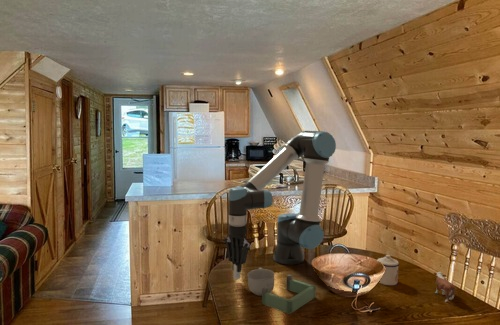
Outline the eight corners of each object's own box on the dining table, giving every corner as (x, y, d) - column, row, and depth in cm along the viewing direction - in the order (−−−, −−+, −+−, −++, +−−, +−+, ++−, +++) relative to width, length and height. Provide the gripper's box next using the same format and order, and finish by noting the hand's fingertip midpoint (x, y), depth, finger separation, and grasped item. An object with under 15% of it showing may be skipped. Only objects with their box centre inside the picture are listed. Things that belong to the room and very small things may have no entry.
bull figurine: (441, 289, 160) (442, 270, 159) (456, 304, 146) (458, 283, 146) (430, 288, 160) (431, 269, 159) (444, 303, 147) (446, 283, 146)
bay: (288, 288, 159) (288, 274, 158) (315, 297, 151) (315, 282, 150) (261, 303, 145) (262, 288, 144) (289, 314, 137) (290, 298, 137)
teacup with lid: (400, 286, 162) (401, 259, 161) (378, 285, 163) (379, 258, 162) (393, 275, 174) (395, 250, 173) (372, 274, 175) (374, 249, 174)
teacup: (272, 299, 149) (272, 279, 148) (244, 296, 151) (244, 277, 150) (276, 285, 162) (277, 266, 161) (251, 282, 164) (251, 264, 164)
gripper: (220, 223, 163) (219, 277, 166) (243, 228, 155) (242, 285, 157) (231, 220, 169) (231, 272, 171) (255, 225, 161) (254, 279, 163)
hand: (236, 278), depth 164 cm, fingers closed
